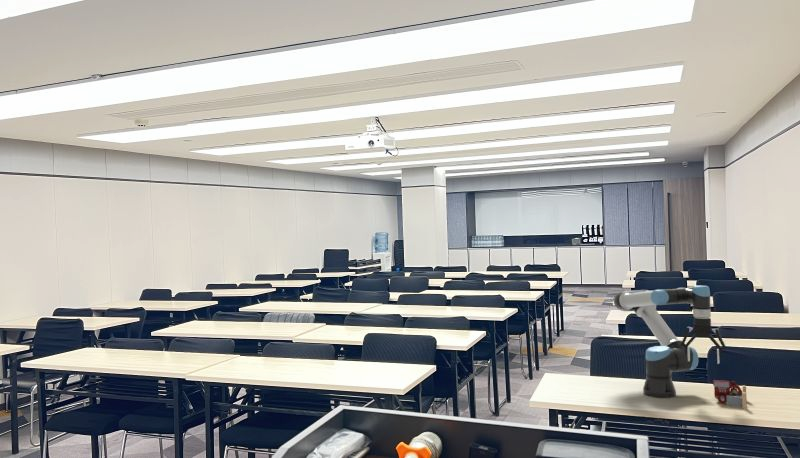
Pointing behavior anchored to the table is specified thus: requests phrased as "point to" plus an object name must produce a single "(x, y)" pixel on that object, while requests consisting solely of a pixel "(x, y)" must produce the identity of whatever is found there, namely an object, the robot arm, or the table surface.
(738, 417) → the table surface
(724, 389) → the toy fire truck
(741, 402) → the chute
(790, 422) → the table surface
